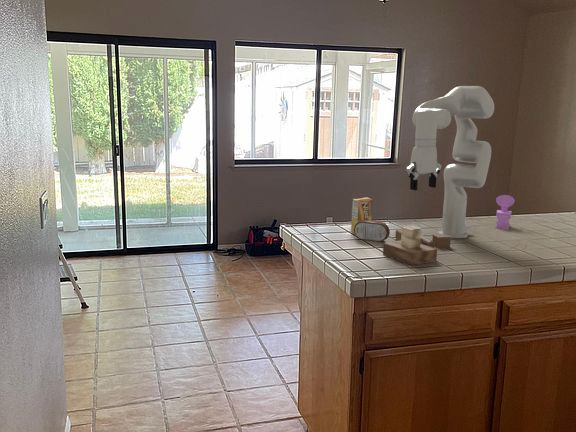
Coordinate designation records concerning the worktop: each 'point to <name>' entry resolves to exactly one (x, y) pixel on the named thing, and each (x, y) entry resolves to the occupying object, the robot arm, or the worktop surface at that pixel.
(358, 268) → the worktop surface
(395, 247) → the walnut block
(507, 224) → the toy chair
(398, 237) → the wooden block set
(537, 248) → the worktop surface
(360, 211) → the candy box
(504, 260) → the worktop surface
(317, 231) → the worktop surface
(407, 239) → the maple block
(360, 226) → the tin
